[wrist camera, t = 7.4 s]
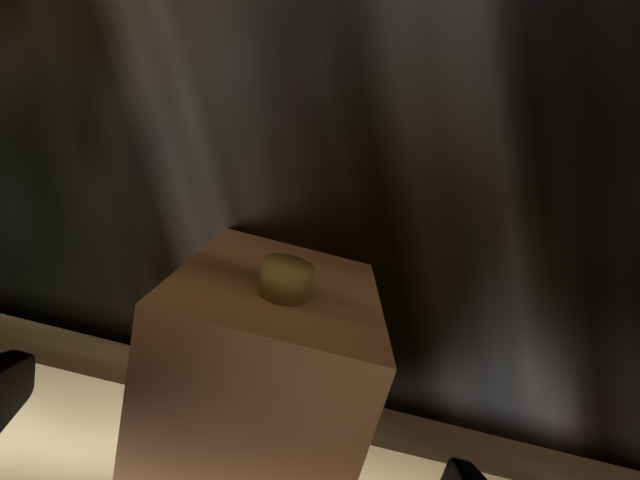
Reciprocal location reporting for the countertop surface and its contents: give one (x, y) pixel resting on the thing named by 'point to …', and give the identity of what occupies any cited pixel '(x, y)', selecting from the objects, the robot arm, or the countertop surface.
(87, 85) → the countertop surface
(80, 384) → the board
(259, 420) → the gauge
